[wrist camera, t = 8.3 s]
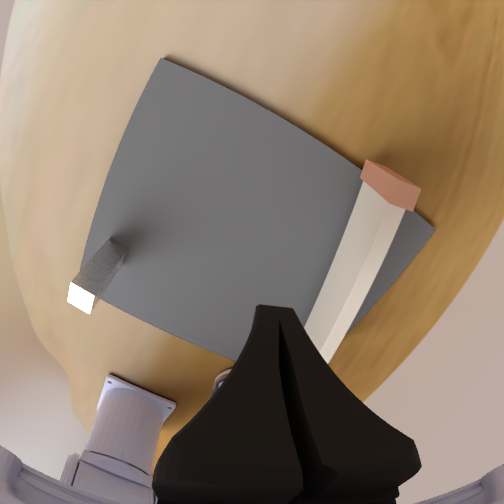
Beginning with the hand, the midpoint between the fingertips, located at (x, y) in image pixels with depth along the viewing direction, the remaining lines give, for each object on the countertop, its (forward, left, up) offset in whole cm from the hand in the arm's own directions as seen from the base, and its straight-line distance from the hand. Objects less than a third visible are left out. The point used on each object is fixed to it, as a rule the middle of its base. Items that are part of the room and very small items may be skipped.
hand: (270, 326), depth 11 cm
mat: (-3, 0, -9) cm, 10 cm away
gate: (+1, -5, -9) cm, 10 cm away
